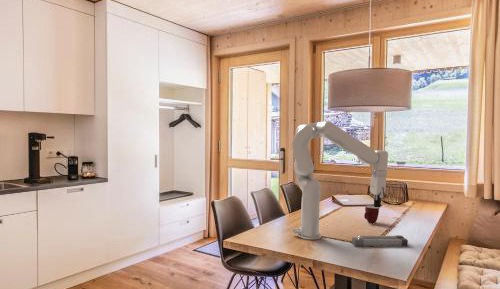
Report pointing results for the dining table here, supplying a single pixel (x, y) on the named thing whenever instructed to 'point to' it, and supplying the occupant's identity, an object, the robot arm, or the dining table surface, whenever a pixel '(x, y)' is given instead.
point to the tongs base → (379, 242)
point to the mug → (371, 213)
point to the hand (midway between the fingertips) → (377, 206)
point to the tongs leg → (383, 236)
